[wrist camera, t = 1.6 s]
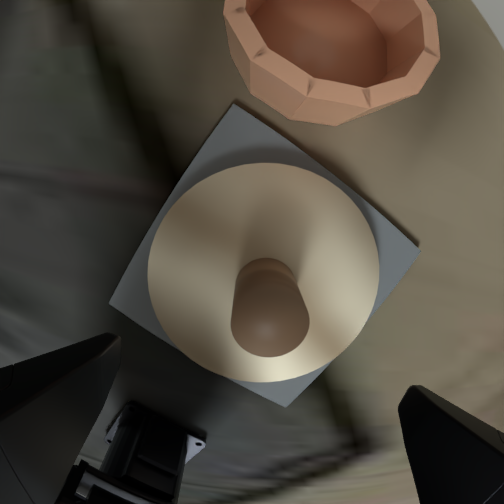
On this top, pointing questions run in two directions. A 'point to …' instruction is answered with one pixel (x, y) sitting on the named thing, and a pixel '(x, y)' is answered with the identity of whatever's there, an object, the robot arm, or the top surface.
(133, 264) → the mat
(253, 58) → the bowl
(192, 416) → the top surface
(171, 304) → the lid
